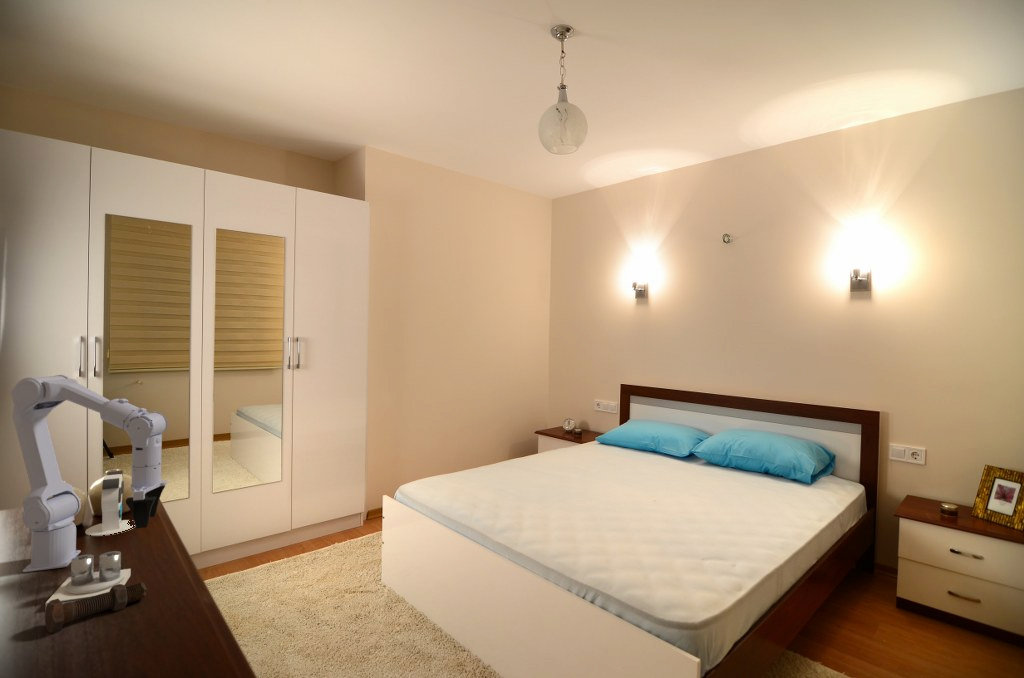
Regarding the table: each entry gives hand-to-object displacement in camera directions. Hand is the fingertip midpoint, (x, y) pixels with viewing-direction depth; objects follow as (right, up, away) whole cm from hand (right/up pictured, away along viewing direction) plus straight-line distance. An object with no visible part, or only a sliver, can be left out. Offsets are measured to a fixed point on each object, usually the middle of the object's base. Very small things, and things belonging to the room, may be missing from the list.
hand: (145, 522), depth 123 cm
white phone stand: (-25, -10, +22) cm, 35 cm away
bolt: (+7, -10, -22) cm, 25 cm away
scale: (-2, -10, -14) cm, 17 cm away
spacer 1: (-3, -7, -14) cm, 17 cm away
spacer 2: (+1, -8, -12) cm, 15 cm away
